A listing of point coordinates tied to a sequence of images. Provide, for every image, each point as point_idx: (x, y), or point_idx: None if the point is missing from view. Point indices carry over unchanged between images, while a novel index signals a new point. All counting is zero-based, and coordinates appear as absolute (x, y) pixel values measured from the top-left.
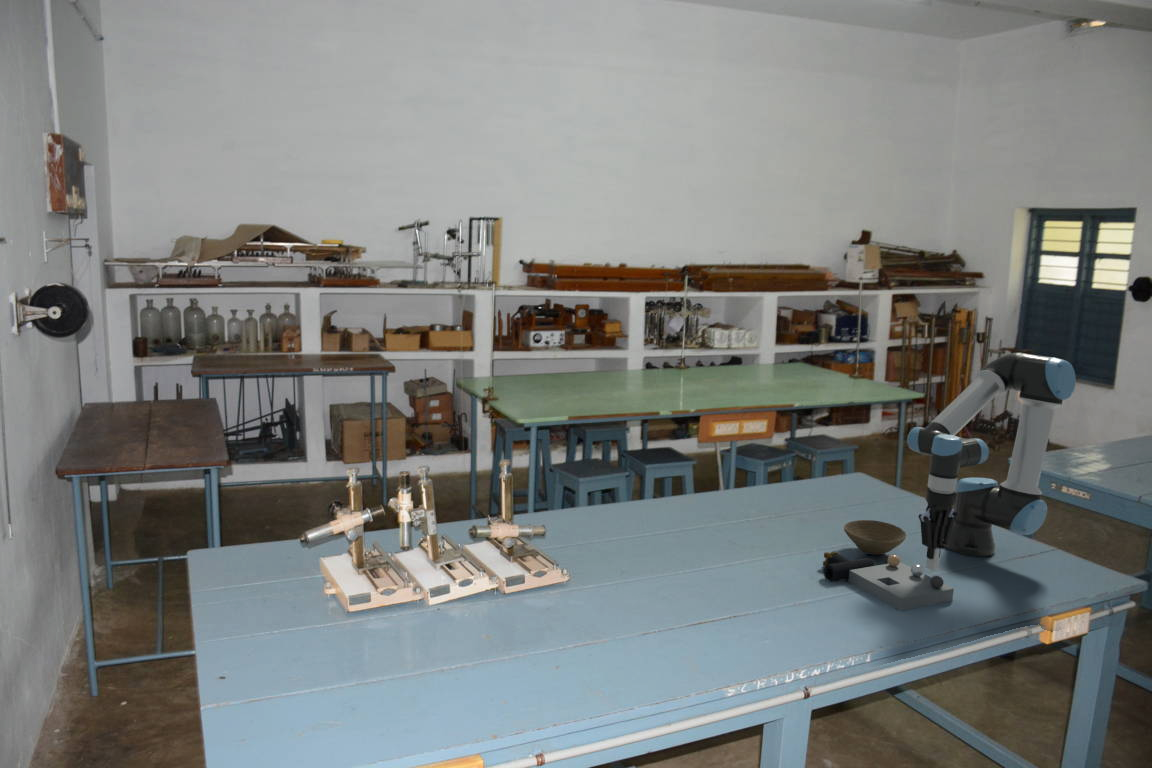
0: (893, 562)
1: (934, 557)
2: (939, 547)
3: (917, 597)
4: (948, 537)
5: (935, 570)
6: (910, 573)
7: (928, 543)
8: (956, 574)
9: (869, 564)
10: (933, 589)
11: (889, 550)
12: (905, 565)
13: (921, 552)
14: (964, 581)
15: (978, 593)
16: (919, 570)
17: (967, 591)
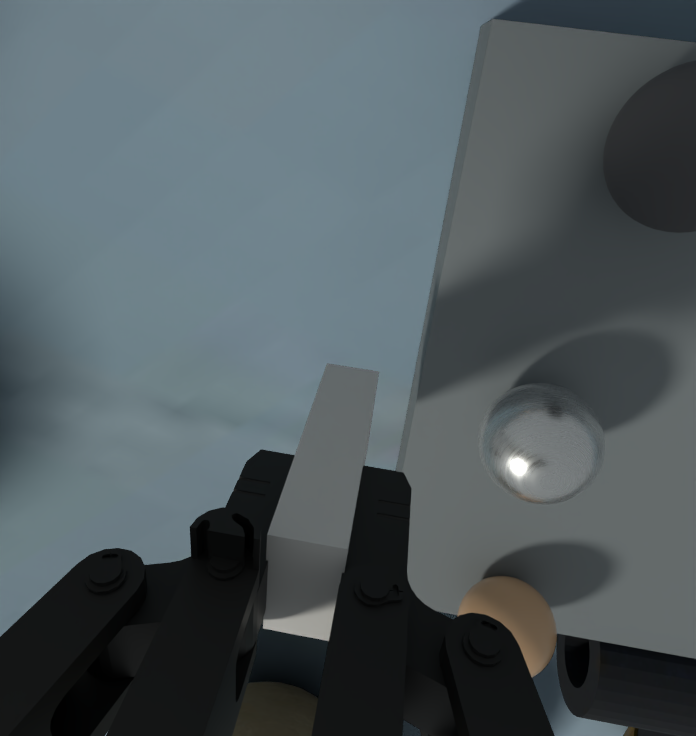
0: (549, 614)
1: (361, 468)
2: (250, 556)
3: None
4: (2, 660)
5: (351, 367)
6: None
7: (538, 703)
8: (18, 351)
9: (651, 670)
10: None
11: (262, 693)
12: None
13: (14, 601)
14: (45, 249)
15: (102, 19)
16: (583, 421)
17: (167, 103)
